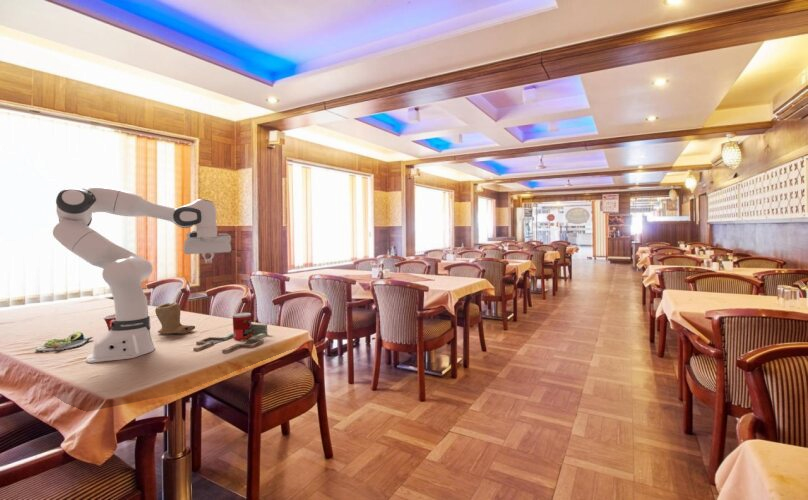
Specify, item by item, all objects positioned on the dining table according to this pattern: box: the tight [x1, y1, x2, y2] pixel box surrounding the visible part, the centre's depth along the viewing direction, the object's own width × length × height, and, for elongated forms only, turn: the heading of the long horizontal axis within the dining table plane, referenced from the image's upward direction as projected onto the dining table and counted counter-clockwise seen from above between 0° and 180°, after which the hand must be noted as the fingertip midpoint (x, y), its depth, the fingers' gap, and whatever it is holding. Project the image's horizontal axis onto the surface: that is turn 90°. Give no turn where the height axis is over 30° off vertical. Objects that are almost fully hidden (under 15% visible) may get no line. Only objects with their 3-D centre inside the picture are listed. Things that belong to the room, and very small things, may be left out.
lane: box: [193, 323, 268, 354], centre depth 174 cm, size 28×28×5 cm
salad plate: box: [35, 331, 94, 352], centre depth 174 cm, size 19×18×5 cm
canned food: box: [232, 312, 253, 341], centre depth 180 cm, size 8×8×11 cm
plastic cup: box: [102, 313, 116, 332], centre depth 183 cm, size 11×11×12 cm
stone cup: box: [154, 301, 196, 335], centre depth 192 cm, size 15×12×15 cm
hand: (208, 262), depth 189 cm, fingers closed
